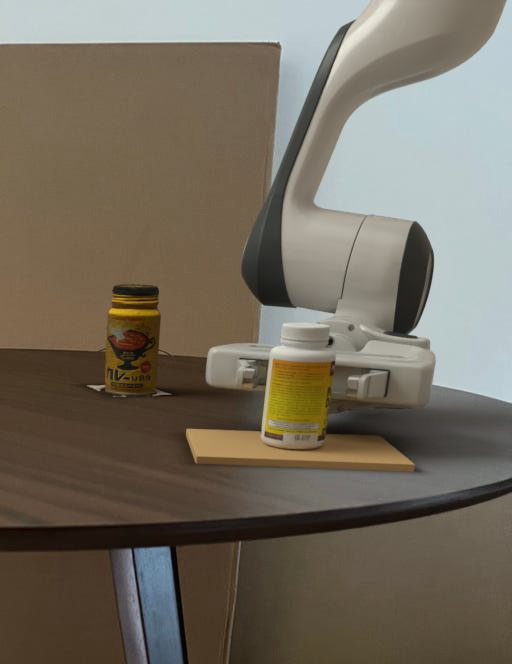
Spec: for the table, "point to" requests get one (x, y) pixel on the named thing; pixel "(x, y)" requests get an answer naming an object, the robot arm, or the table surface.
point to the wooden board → (296, 451)
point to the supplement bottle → (298, 388)
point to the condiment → (132, 342)
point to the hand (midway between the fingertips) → (298, 383)
